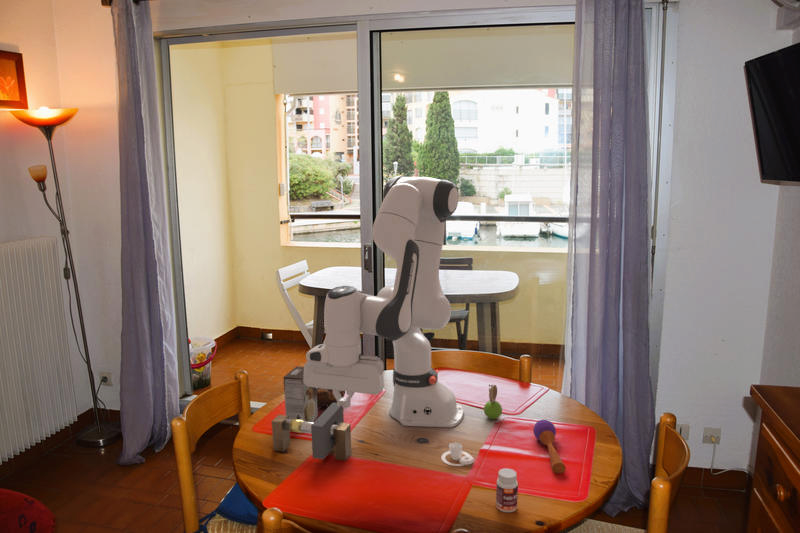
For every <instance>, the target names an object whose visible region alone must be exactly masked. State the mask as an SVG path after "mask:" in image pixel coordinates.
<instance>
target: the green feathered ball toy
mask: <svg viewBox="0 0 800 533" xmlns="http://www.w3.org/2000/svg"><path fill="white" fill-rule="evenodd" d="M488 387H489V389H488V391H489V392H488V399H489V400H488V401H487V402H486V403H485V404H484V406H483V412H484V415H485V417H487V418H488V419H491V420H496V419H498V418H500V417H501V415H502V413H503V407H502V405H501V403H500V402H499V401H497V400H496V399H497V395H498V386H497V385H496V384H488Z"/></svg>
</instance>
